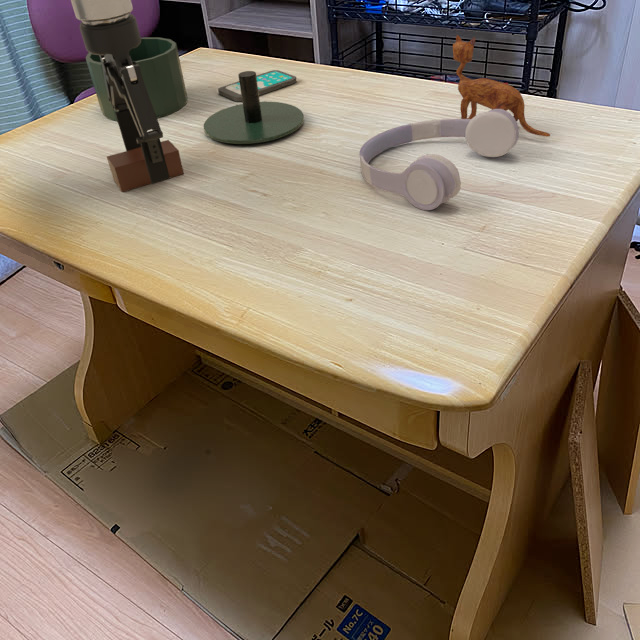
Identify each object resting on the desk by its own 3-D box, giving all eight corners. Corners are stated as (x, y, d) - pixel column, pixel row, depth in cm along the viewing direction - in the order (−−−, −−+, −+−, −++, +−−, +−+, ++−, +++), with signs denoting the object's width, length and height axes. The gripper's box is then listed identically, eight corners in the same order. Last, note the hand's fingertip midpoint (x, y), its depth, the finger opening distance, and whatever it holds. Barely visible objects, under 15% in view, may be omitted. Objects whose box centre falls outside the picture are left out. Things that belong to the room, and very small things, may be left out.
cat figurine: (557, 135, 99) (573, 45, 90) (539, 151, 95) (554, 58, 87) (458, 114, 109) (464, 30, 100) (438, 127, 105) (442, 41, 96)
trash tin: (114, 129, 115) (98, 70, 108) (94, 103, 127) (77, 49, 120) (199, 107, 121) (187, 50, 114) (171, 85, 132) (160, 32, 126)
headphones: (524, 154, 94) (412, 135, 106) (527, 107, 90) (410, 93, 101) (448, 217, 82) (330, 189, 93) (447, 167, 77) (324, 143, 89)
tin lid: (227, 156, 102) (217, 100, 96) (190, 123, 114) (180, 72, 109) (322, 129, 108) (318, 75, 102) (277, 100, 120) (271, 50, 115)
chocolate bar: (122, 192, 95) (114, 167, 92) (113, 180, 98) (106, 156, 96) (184, 174, 98) (178, 150, 96) (173, 162, 102) (168, 139, 99)
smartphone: (214, 87, 125) (274, 68, 132) (215, 92, 126) (275, 73, 133) (238, 97, 120) (299, 76, 127) (238, 102, 121) (299, 81, 127)
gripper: (161, 29, 76) (197, 187, 89) (110, -3, 93) (147, 133, 107) (100, 42, 73) (147, 203, 87) (60, 7, 91) (104, 144, 104)
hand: (147, 164), depth 97 cm, fingers open, 13 cm apart
